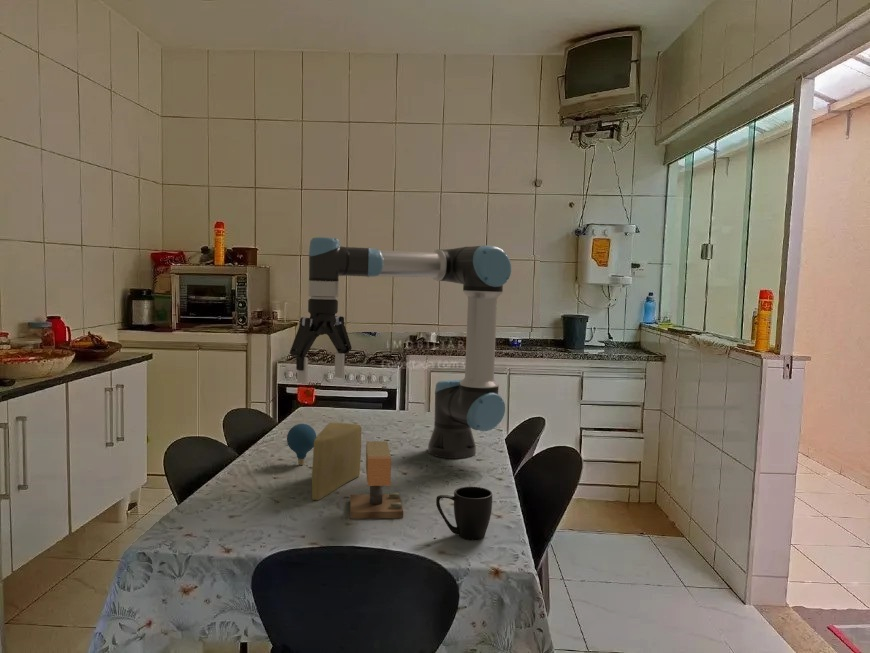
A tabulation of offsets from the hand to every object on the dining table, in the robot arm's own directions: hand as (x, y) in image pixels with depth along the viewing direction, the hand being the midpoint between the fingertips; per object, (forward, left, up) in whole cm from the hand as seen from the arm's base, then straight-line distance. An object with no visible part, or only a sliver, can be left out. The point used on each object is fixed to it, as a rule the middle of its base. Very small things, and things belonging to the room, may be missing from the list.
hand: (321, 380), depth 170 cm
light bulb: (+6, -18, -28) cm, 34 cm away
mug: (-32, +36, -28) cm, 55 cm away
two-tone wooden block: (-14, +23, -21) cm, 34 cm away
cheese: (-3, +2, -28) cm, 28 cm away
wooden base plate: (-14, +19, -28) cm, 36 cm away
